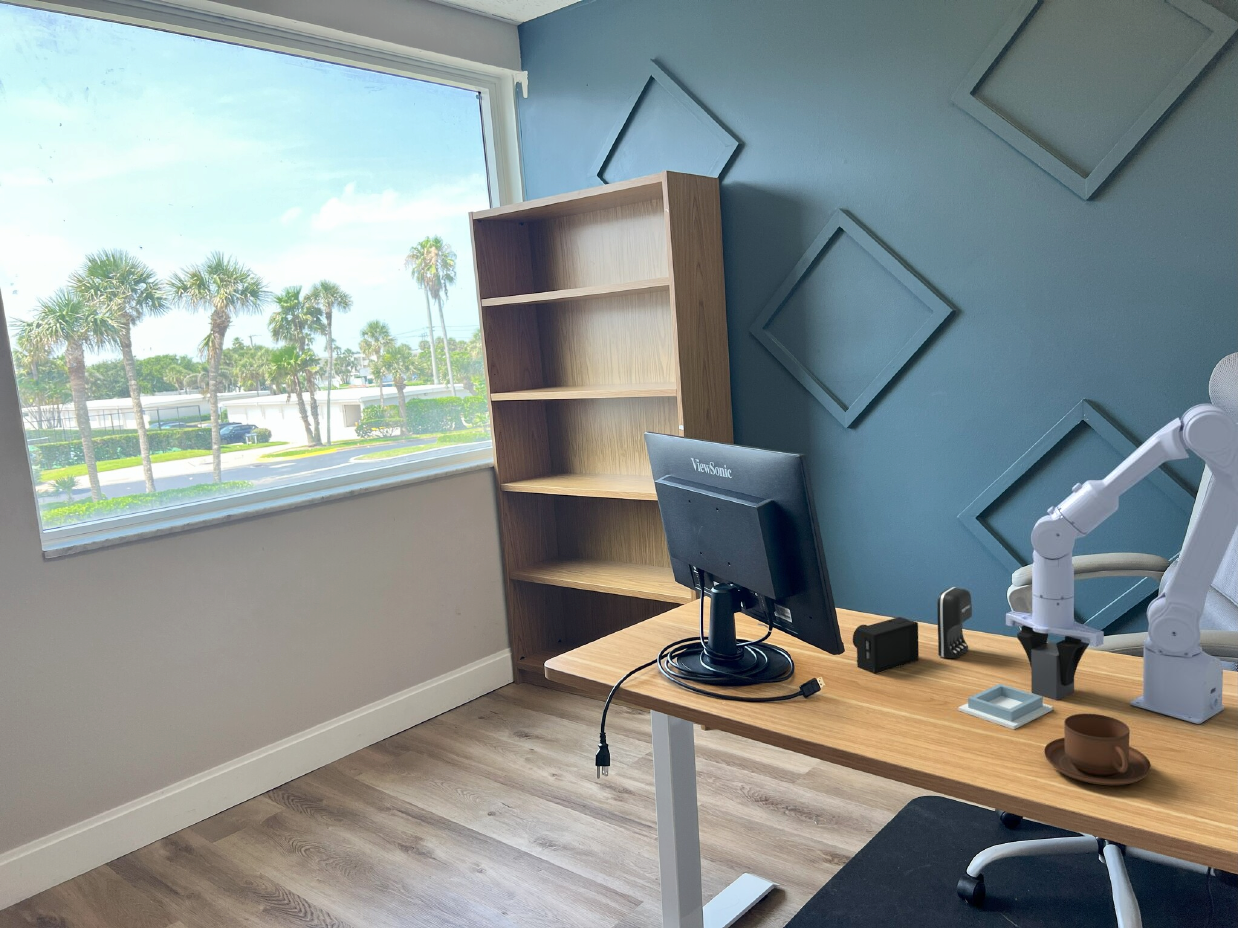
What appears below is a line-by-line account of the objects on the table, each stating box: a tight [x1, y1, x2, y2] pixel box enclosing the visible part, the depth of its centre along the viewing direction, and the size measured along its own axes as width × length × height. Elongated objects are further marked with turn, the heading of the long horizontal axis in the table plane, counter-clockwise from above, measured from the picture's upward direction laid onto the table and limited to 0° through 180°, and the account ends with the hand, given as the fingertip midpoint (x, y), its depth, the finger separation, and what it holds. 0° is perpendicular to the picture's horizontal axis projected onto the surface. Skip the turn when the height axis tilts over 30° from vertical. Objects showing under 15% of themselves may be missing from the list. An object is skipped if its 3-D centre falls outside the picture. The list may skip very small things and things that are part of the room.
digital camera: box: [852, 616, 920, 675], centre depth 157 cm, size 10×5×7 cm, turn 119°
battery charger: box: [936, 586, 973, 659], centre depth 159 cm, size 7×4×11 cm, turn 137°
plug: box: [1030, 641, 1075, 701], centre depth 140 cm, size 4×5×7 cm
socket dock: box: [957, 683, 1054, 730], centre depth 135 cm, size 9×10×2 cm
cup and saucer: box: [1043, 713, 1152, 786], centre depth 116 cm, size 12×12×6 cm
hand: (1052, 679), depth 140 cm, fingers closed on plug, 4 cm apart
